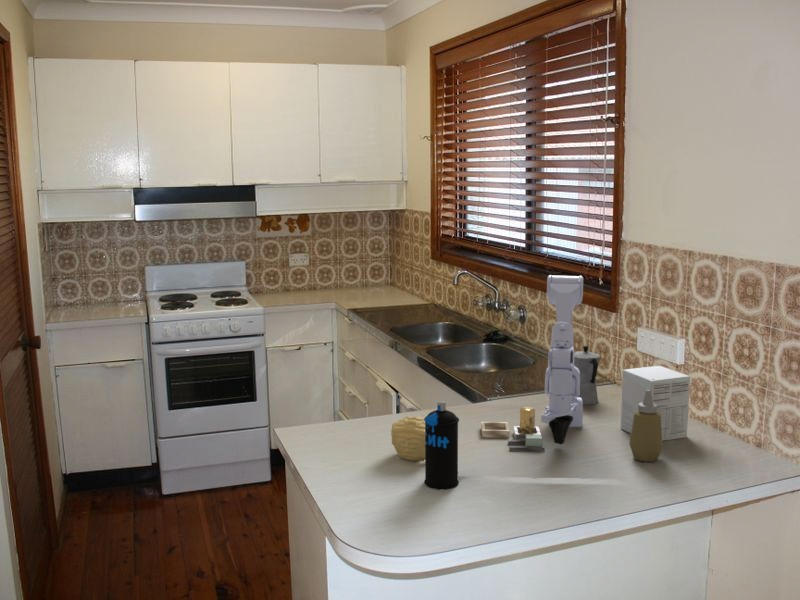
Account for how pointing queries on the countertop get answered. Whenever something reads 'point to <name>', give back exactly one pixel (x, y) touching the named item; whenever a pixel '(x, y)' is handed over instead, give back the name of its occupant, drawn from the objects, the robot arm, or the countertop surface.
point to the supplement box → (657, 398)
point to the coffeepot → (587, 375)
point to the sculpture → (409, 438)
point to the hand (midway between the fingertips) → (559, 442)
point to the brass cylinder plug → (527, 420)
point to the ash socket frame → (495, 429)
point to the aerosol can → (441, 448)
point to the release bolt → (533, 440)
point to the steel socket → (523, 435)
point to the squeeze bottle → (646, 431)
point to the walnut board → (523, 448)
